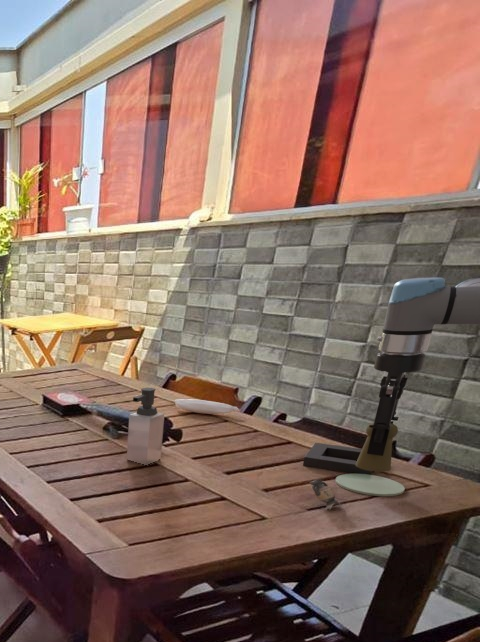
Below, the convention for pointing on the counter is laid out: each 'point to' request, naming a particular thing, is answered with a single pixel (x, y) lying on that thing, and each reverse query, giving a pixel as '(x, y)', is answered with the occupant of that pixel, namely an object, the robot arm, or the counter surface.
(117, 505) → the counter surface
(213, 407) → the white tapered cylinder
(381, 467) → the cork
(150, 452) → the soap dispenser
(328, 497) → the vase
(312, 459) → the frame
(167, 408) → the counter surface
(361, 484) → the coaster
